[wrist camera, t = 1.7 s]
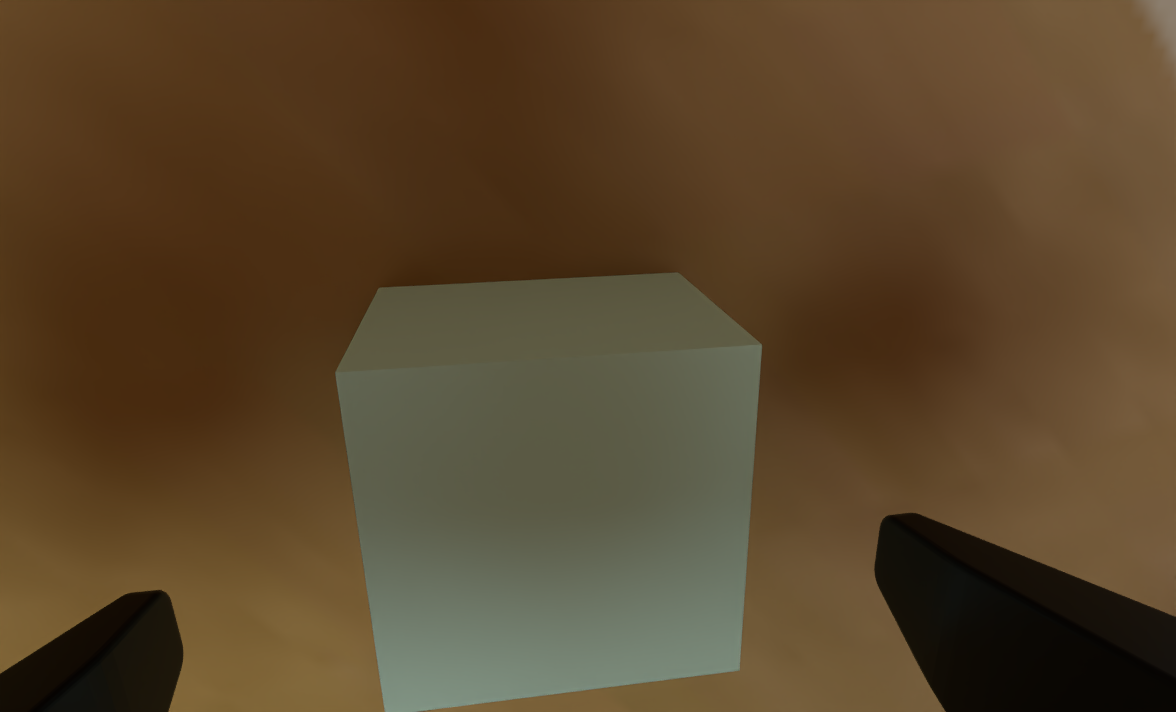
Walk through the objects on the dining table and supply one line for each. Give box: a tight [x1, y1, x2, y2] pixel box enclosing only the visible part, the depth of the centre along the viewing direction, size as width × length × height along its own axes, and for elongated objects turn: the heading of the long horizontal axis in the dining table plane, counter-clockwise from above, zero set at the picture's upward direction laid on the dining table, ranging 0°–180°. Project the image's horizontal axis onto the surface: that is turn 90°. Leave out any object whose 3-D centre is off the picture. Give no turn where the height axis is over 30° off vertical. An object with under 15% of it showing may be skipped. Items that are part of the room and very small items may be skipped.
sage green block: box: [335, 272, 762, 712], centre depth 11 cm, size 5×5×4 cm
